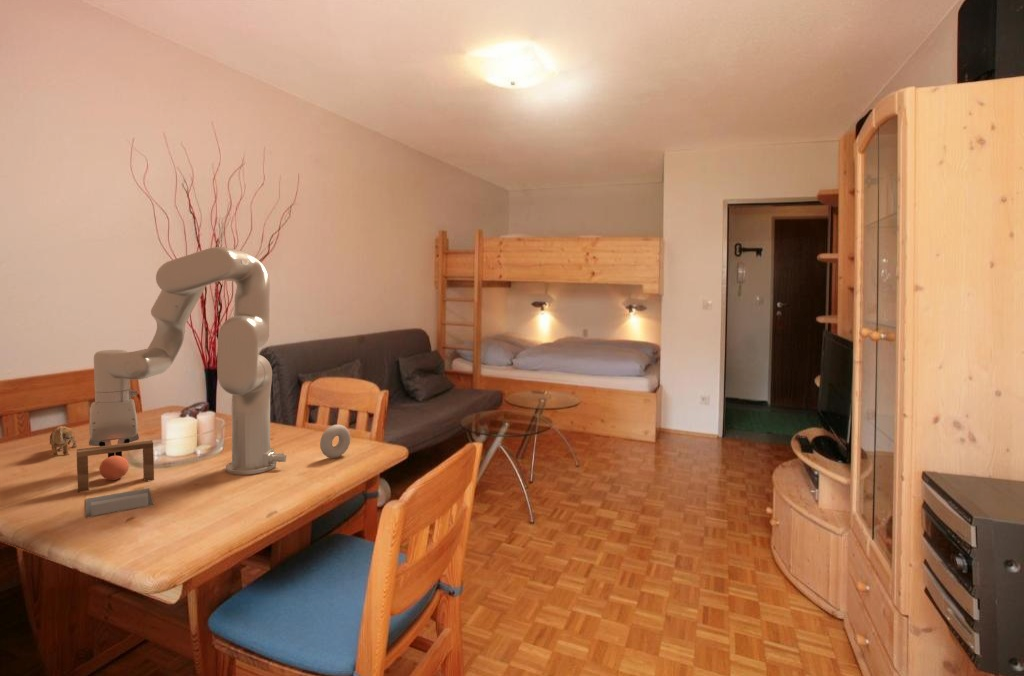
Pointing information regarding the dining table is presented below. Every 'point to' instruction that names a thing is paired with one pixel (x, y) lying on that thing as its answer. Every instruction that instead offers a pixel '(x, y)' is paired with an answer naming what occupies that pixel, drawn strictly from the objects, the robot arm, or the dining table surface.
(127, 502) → the wall
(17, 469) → the dining table surface
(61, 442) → the brown toy animal
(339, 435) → the donut
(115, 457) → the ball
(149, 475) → the bridge
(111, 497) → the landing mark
